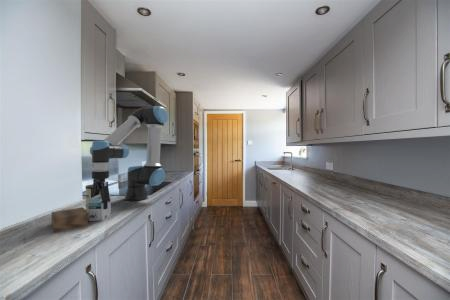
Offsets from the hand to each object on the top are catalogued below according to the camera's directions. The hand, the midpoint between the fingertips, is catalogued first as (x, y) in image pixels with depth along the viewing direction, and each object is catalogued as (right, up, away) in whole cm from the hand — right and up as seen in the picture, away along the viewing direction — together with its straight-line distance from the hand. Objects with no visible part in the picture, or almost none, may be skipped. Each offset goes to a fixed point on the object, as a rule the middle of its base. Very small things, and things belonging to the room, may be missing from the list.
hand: (100, 212), depth 105 cm
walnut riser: (-8, -3, -10) cm, 13 cm away
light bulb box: (0, -3, 0) cm, 3 cm away
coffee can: (-10, -2, +13) cm, 17 cm away
